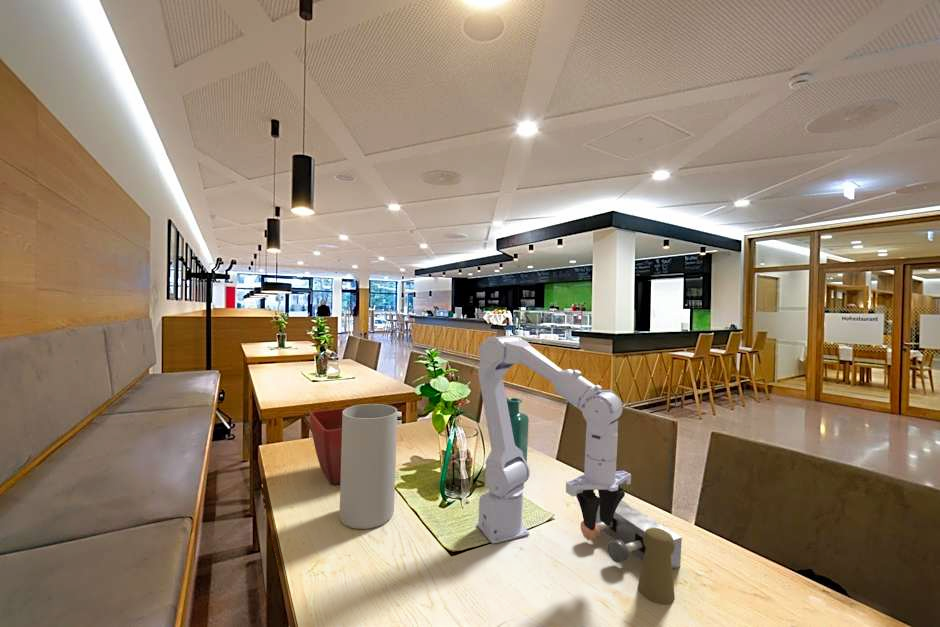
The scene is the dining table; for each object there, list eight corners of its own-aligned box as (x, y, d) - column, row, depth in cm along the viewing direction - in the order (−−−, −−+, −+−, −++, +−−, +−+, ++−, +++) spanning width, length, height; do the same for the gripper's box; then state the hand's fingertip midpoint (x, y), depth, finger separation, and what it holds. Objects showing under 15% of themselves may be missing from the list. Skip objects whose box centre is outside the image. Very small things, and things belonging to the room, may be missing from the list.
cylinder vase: (404, 509, 95) (407, 408, 95) (371, 536, 84) (374, 422, 83) (363, 497, 100) (366, 401, 100) (327, 521, 89) (330, 413, 88)
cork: (679, 607, 67) (682, 545, 67) (642, 600, 68) (645, 539, 68) (668, 583, 73) (671, 525, 73) (634, 577, 74) (637, 520, 74)
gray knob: (620, 566, 75) (621, 548, 75) (607, 555, 79) (607, 538, 79) (646, 558, 78) (647, 540, 78) (632, 547, 82) (633, 530, 81)
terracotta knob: (591, 543, 83) (592, 526, 82) (580, 533, 86) (581, 517, 86) (616, 535, 86) (617, 519, 85) (604, 527, 89) (605, 511, 89)
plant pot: (391, 478, 112) (393, 420, 111) (323, 494, 101) (324, 430, 101) (368, 455, 128) (370, 404, 127) (307, 467, 117) (308, 412, 116)
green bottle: (528, 466, 123) (531, 398, 123) (517, 476, 116) (520, 403, 116) (501, 459, 129) (504, 393, 128) (488, 467, 121) (491, 398, 121)
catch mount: (660, 573, 76) (662, 543, 75) (595, 524, 92) (596, 499, 92) (680, 566, 78) (681, 537, 78) (612, 519, 94) (613, 495, 94)
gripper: (585, 469, 68) (581, 545, 68) (645, 458, 74) (641, 528, 74) (560, 454, 74) (556, 524, 75) (616, 445, 80) (613, 510, 81)
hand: (597, 525), depth 75 cm, fingers open, 3 cm apart
